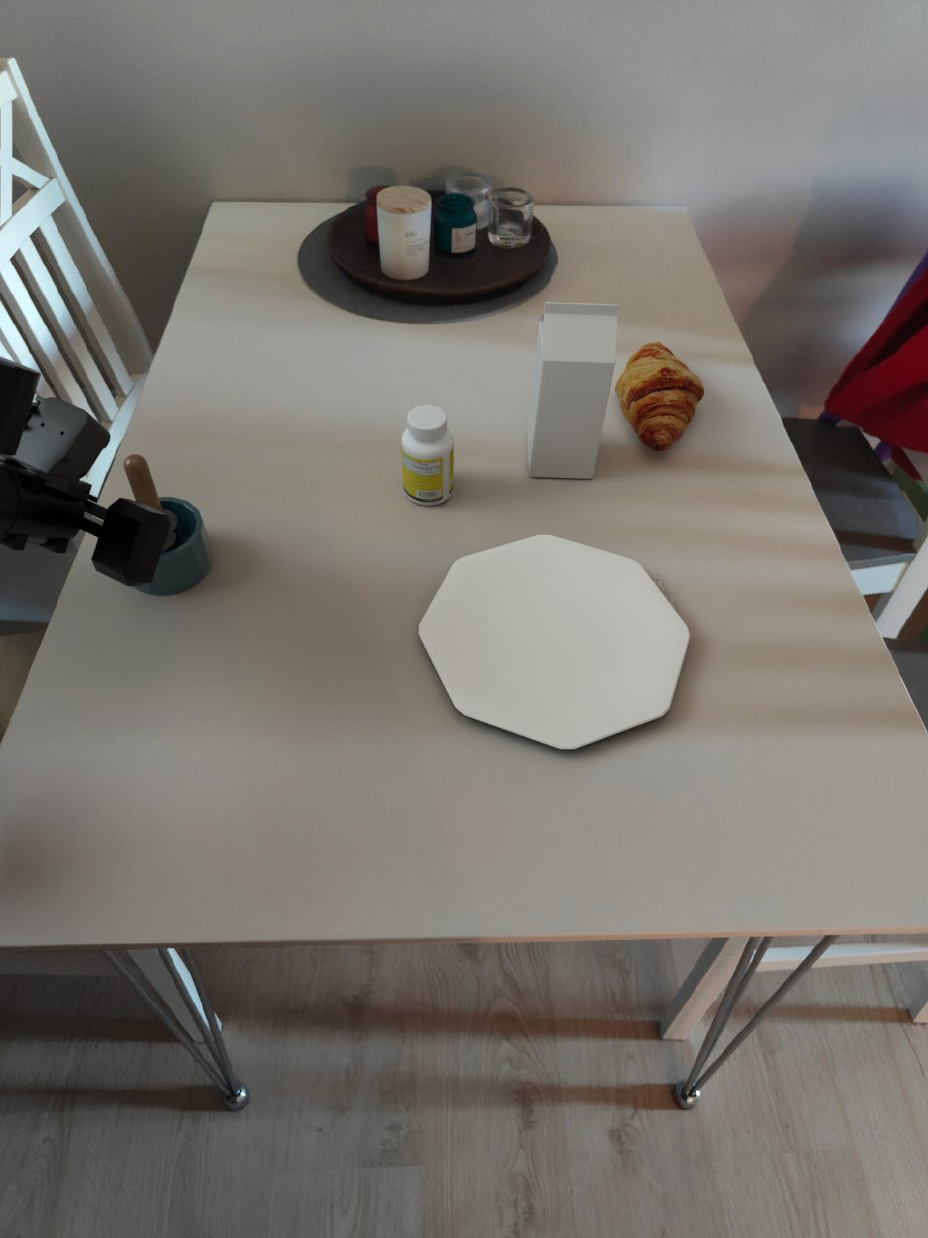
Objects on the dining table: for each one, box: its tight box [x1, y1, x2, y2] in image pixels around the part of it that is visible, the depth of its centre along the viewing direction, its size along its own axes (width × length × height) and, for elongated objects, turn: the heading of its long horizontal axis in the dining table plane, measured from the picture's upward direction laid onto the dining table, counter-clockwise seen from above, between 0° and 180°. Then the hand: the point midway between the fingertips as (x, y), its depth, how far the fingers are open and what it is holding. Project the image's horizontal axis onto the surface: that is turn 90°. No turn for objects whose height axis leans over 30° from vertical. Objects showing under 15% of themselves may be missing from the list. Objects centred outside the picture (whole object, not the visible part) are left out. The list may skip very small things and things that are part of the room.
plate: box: [418, 534, 691, 751], centre depth 79 cm, size 24×24×2 cm
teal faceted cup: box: [134, 496, 213, 596], centre depth 82 cm, size 8×8×5 cm
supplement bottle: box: [400, 404, 455, 507], centre depth 88 cm, size 5×5×10 cm
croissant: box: [614, 340, 705, 452], centre depth 101 cm, size 21×10×8 cm, turn 174°
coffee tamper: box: [122, 453, 185, 554], centre depth 79 cm, size 4×4×13 cm
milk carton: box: [526, 301, 620, 480], centre depth 89 cm, size 7×7×19 cm
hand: (134, 520), depth 77 cm, fingers open, 9 cm apart
